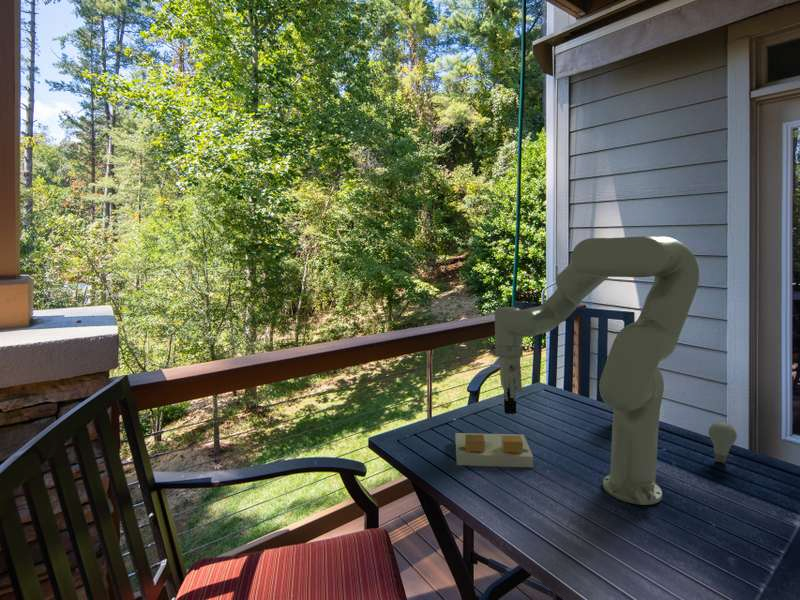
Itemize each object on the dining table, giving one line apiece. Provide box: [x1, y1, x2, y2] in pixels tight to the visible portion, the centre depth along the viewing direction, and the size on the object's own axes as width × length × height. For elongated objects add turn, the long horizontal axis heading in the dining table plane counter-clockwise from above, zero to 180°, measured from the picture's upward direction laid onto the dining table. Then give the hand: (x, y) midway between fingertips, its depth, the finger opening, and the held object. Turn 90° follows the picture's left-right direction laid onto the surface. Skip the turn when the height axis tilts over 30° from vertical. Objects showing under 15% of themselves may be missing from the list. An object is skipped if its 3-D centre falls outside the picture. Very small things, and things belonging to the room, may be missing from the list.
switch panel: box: [454, 432, 534, 468], centre depth 127 cm, size 14×20×3 cm
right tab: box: [502, 435, 523, 453], centre depth 123 cm, size 4×5×3 cm
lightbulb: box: [707, 421, 738, 464], centre depth 120 cm, size 6×6×11 cm
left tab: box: [465, 434, 485, 452], centre depth 124 cm, size 4×5×3 cm
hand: (510, 412), depth 131 cm, fingers closed
